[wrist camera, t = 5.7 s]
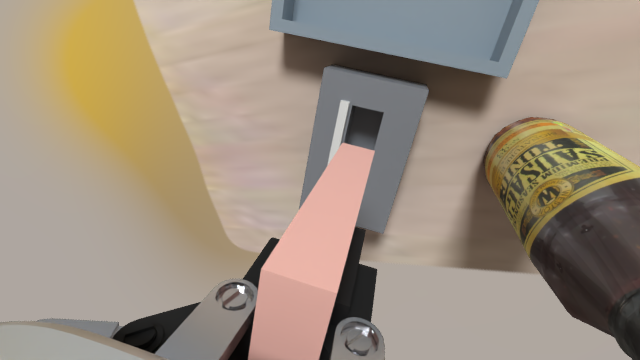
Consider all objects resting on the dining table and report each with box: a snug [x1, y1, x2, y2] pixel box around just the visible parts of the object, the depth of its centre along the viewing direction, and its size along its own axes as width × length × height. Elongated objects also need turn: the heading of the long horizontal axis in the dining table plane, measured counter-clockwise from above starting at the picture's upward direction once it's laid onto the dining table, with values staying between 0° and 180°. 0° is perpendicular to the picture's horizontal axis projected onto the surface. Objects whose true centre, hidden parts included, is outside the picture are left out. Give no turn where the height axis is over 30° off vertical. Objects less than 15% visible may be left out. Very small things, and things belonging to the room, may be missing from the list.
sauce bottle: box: [484, 117, 640, 360], centre depth 15 cm, size 6×6×20 cm
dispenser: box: [299, 65, 429, 234], centre depth 25 cm, size 7×11×4 cm, turn 169°
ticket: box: [248, 143, 375, 360], centre depth 12 cm, size 2×6×10 cm, turn 169°
